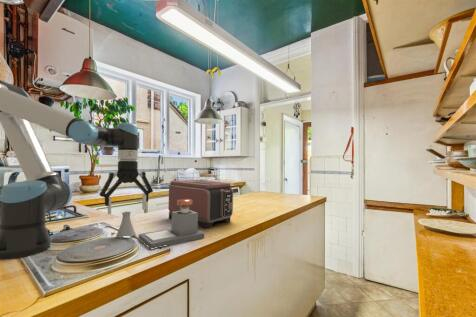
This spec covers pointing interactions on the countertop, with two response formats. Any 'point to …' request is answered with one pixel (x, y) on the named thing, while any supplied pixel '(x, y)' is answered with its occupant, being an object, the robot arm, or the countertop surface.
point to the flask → (126, 226)
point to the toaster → (203, 200)
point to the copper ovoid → (184, 205)
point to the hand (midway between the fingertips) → (127, 211)
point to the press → (175, 231)
